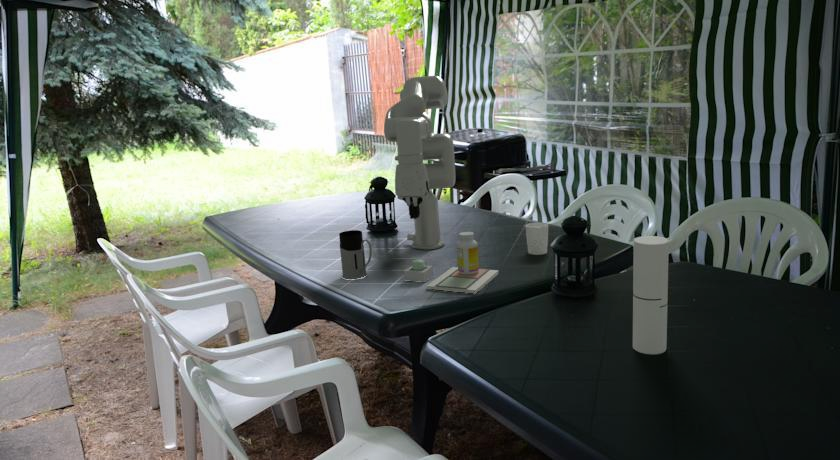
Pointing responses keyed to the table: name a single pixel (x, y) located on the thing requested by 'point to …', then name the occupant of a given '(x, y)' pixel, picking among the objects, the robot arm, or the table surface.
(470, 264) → the supplement bottle
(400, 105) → the robot arm
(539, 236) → the white cup
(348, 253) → the grey and black mug
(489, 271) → the picture board
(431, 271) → the button box
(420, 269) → the button
